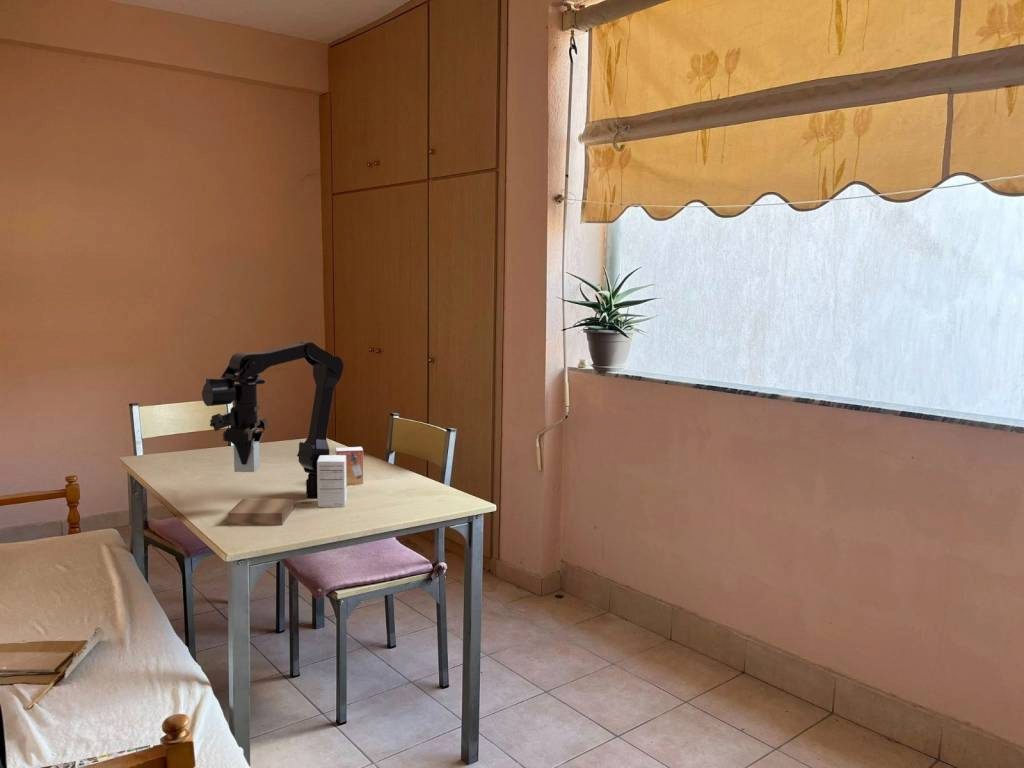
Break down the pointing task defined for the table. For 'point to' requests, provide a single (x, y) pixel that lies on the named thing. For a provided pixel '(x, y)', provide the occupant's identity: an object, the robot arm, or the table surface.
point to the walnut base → (260, 512)
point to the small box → (352, 464)
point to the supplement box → (331, 481)
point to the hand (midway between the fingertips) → (247, 462)
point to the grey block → (252, 461)
